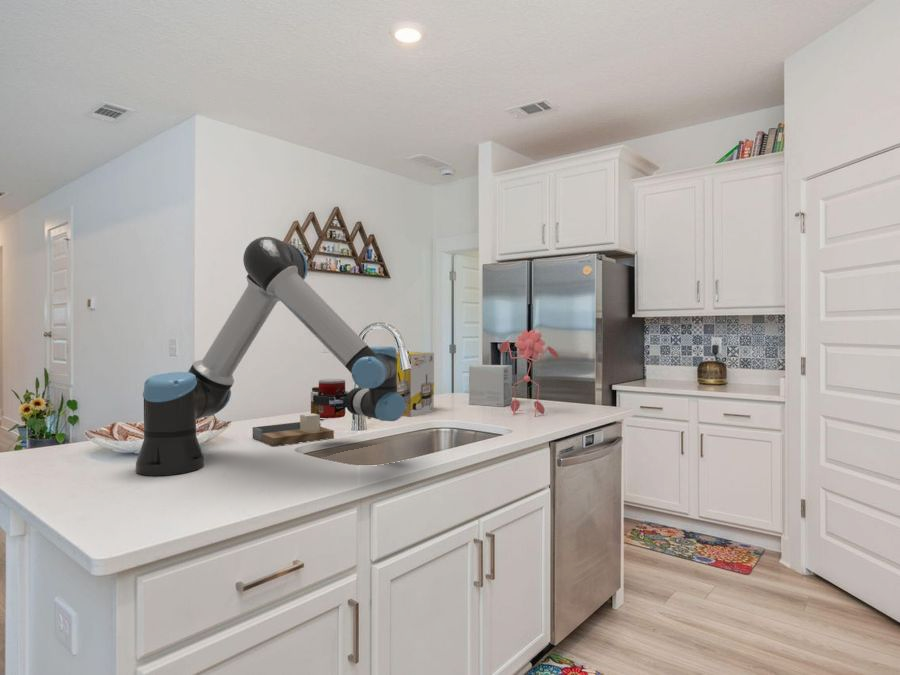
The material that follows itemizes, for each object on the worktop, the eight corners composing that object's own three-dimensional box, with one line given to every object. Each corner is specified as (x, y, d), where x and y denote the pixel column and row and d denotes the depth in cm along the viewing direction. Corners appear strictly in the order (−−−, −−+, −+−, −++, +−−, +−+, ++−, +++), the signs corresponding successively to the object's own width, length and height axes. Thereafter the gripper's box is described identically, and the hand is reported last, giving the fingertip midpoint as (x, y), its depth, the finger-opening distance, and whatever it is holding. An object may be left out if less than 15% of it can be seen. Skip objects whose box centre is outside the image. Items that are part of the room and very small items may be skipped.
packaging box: (411, 416, 222) (411, 353, 222) (379, 413, 231) (379, 352, 230) (433, 411, 236) (434, 352, 235) (402, 408, 244) (403, 351, 244)
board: (273, 446, 165) (273, 438, 165) (261, 441, 172) (261, 433, 172) (333, 438, 178) (333, 430, 178) (320, 434, 185) (320, 426, 185)
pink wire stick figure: (555, 418, 219) (556, 329, 220) (493, 413, 231) (494, 329, 231) (565, 414, 233) (566, 330, 233) (506, 410, 245) (507, 329, 245)
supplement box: (512, 403, 263) (513, 365, 263) (503, 407, 251) (504, 366, 251) (478, 401, 270) (478, 363, 270) (468, 404, 258) (468, 365, 258)
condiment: (330, 417, 220) (330, 386, 220) (321, 420, 212) (321, 389, 212) (313, 416, 222) (313, 386, 221) (303, 420, 213) (303, 388, 213)
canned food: (339, 418, 165) (339, 381, 165) (314, 418, 166) (314, 381, 166) (349, 414, 172) (349, 379, 172) (325, 414, 174) (324, 378, 174)
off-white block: (306, 432, 175) (306, 416, 175) (300, 430, 178) (300, 414, 178) (319, 430, 178) (319, 415, 178) (313, 428, 181) (313, 413, 181)
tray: (261, 441, 172) (261, 430, 172) (252, 438, 178) (252, 427, 178) (320, 434, 185) (320, 423, 185) (310, 430, 191) (310, 420, 191)
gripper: (330, 419, 149) (293, 410, 166) (394, 411, 162) (353, 404, 180) (330, 391, 149) (292, 385, 166) (394, 386, 162) (353, 380, 179)
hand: (324, 395), depth 173 cm, fingers closed on canned food, 8 cm apart
